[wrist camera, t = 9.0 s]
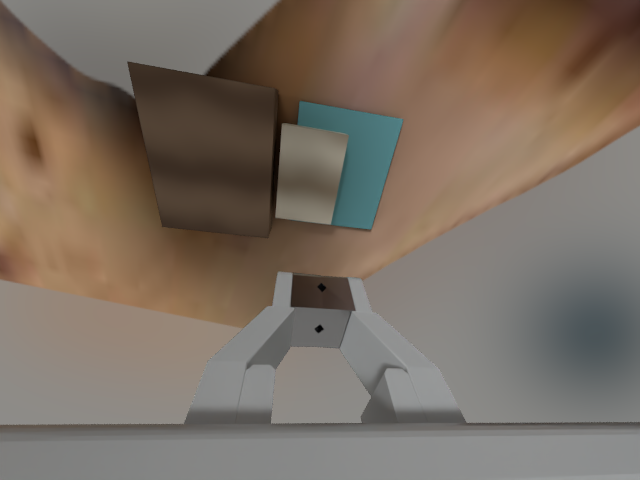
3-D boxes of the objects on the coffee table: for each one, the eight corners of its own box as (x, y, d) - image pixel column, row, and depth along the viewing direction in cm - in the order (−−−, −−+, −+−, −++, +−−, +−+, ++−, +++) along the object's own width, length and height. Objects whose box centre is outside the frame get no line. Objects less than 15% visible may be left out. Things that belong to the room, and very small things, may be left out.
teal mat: (299, 100, 21) (299, 100, 21) (401, 119, 22) (403, 119, 22) (289, 218, 27) (288, 219, 26) (370, 228, 28) (371, 229, 28)
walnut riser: (147, 67, 19) (127, 61, 17) (278, 90, 20) (275, 88, 18) (174, 217, 26) (162, 226, 24) (271, 227, 27) (268, 238, 25)
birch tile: (284, 122, 21) (282, 123, 20) (345, 133, 22) (348, 135, 20) (277, 210, 26) (275, 217, 24) (329, 217, 27) (330, 224, 25)
